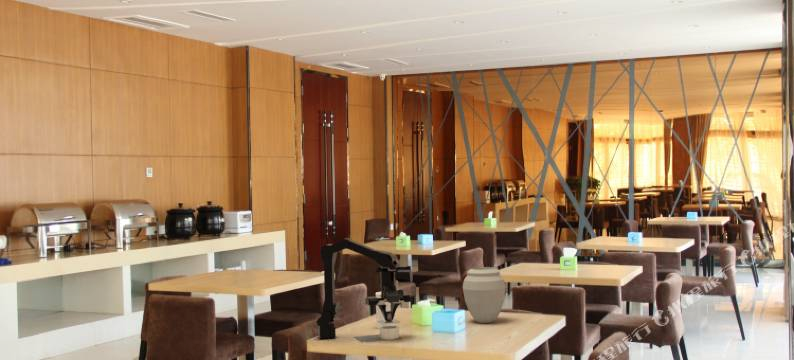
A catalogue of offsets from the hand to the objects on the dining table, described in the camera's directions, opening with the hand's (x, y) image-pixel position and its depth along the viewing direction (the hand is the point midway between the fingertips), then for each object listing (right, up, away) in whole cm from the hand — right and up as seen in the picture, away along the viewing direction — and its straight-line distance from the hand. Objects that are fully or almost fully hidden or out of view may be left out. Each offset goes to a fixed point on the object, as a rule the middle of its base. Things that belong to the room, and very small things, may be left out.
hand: (388, 320), depth 336 cm
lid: (0, -1, 0) cm, 1 cm away
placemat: (-5, -8, +1) cm, 9 cm away
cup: (-1, -8, +25) cm, 26 cm away
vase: (+44, -7, +32) cm, 55 cm away
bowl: (0, -7, 0) cm, 7 cm away
